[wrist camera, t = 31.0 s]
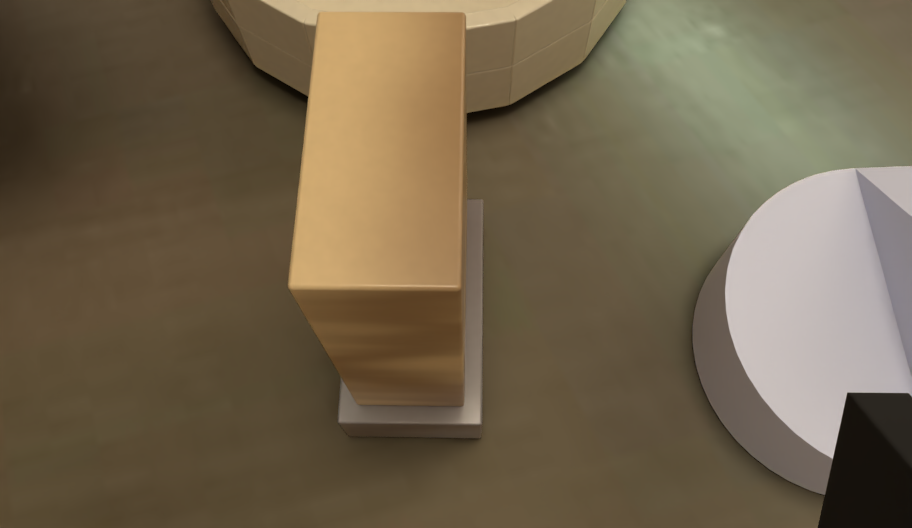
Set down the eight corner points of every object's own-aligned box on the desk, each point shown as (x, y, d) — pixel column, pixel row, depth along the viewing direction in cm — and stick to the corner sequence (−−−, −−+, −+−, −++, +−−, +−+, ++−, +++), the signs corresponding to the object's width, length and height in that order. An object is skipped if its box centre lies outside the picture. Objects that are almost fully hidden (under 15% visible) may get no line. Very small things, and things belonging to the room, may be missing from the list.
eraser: (347, 436, 23) (253, 316, 13) (362, 225, 26) (294, -10, 16) (481, 438, 23) (491, 319, 13) (482, 226, 26) (491, -10, 16)
